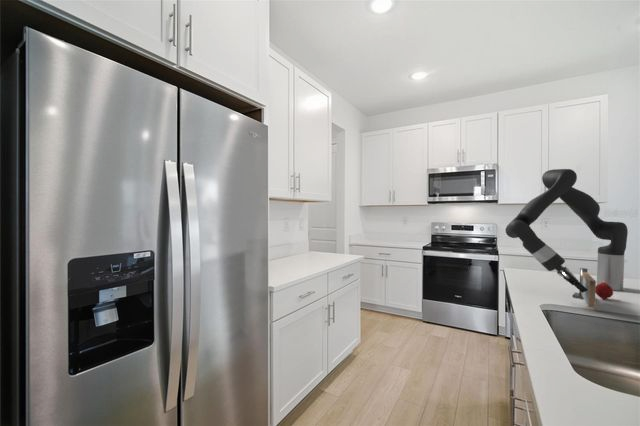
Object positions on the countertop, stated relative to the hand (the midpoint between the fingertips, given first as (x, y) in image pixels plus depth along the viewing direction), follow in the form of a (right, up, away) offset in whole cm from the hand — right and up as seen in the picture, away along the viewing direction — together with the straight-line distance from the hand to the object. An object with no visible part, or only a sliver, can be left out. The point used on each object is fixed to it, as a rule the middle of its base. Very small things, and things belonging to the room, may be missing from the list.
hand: (584, 291), depth 115 cm
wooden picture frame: (+2, -5, +1) cm, 5 cm away
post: (+9, -6, +10) cm, 14 cm away
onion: (+16, -6, +8) cm, 19 cm away
